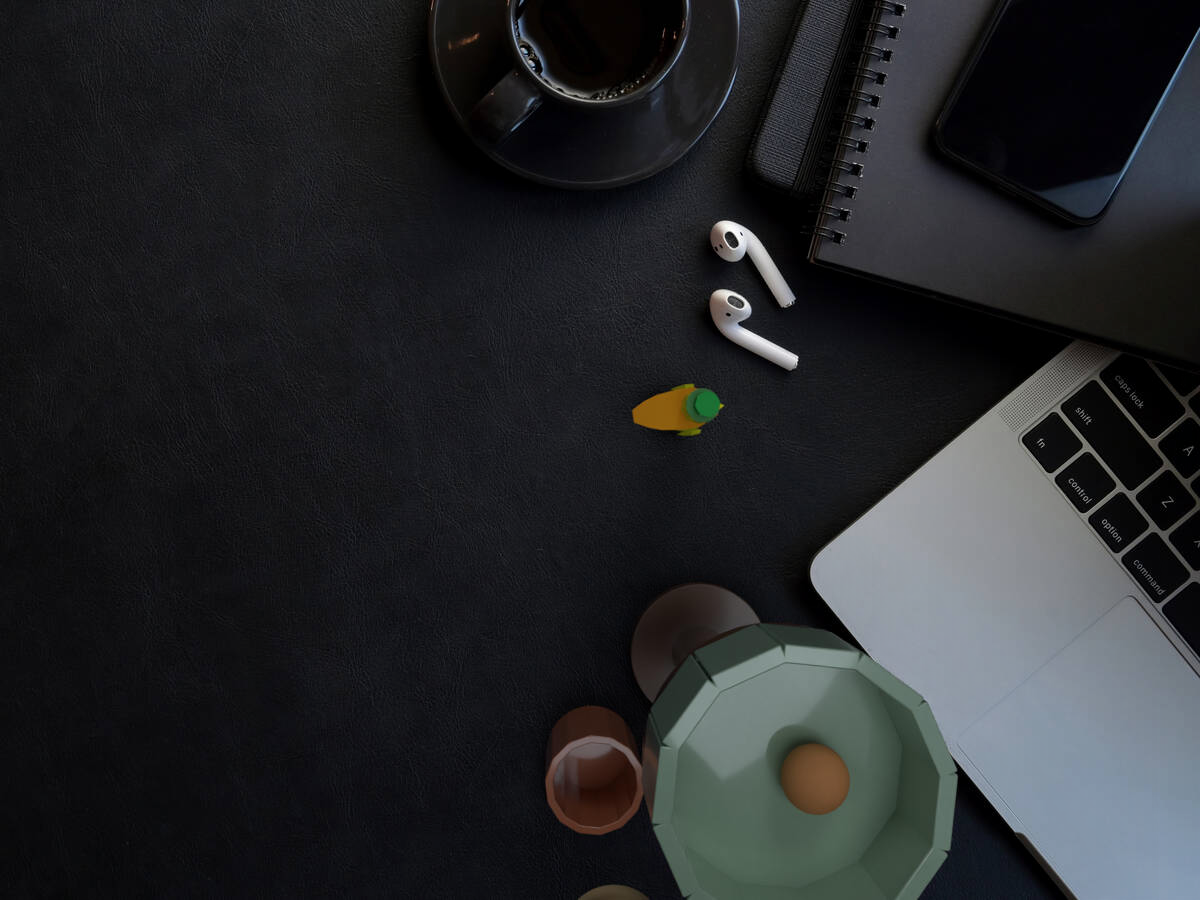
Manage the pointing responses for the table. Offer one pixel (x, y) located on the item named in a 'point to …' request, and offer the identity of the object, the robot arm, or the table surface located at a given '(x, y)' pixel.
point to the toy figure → (679, 410)
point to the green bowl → (754, 761)
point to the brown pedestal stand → (683, 631)
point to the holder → (593, 771)
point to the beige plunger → (613, 893)
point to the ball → (815, 779)
